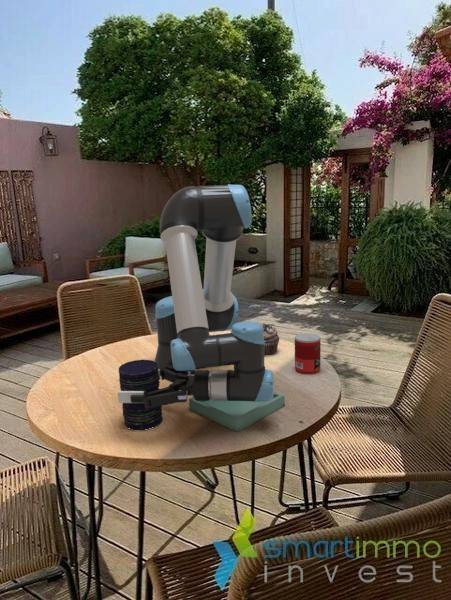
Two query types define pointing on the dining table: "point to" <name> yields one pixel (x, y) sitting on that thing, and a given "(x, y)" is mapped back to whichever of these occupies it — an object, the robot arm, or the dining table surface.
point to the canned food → (307, 353)
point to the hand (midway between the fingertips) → (127, 385)
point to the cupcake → (270, 339)
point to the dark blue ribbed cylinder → (140, 379)
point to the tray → (237, 410)
